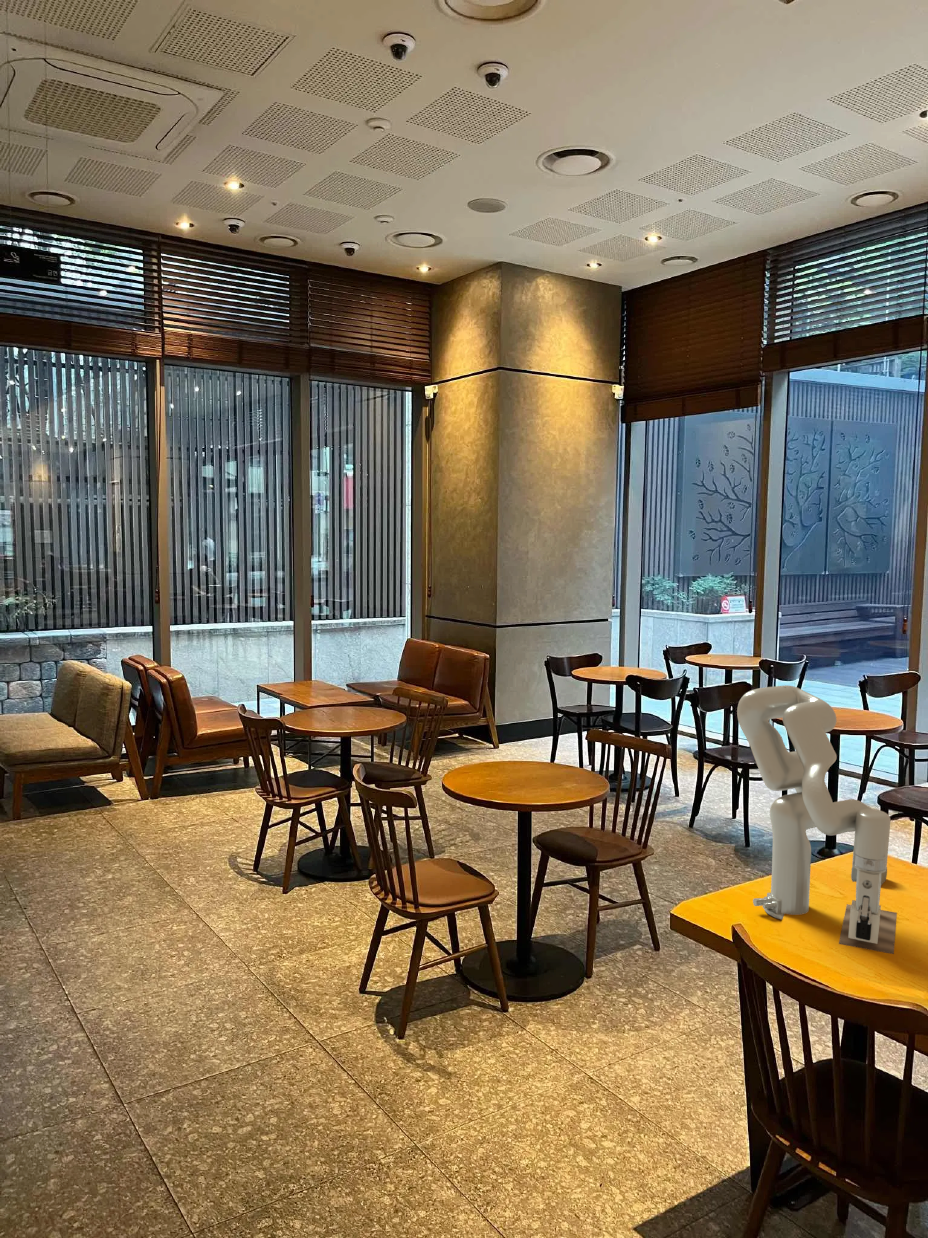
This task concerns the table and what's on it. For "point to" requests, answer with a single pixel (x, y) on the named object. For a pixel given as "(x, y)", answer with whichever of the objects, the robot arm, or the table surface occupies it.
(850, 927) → the cream housing
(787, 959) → the table surface
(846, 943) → the walnut board
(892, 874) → the table surface
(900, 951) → the table surface
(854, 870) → the ceramic mug
